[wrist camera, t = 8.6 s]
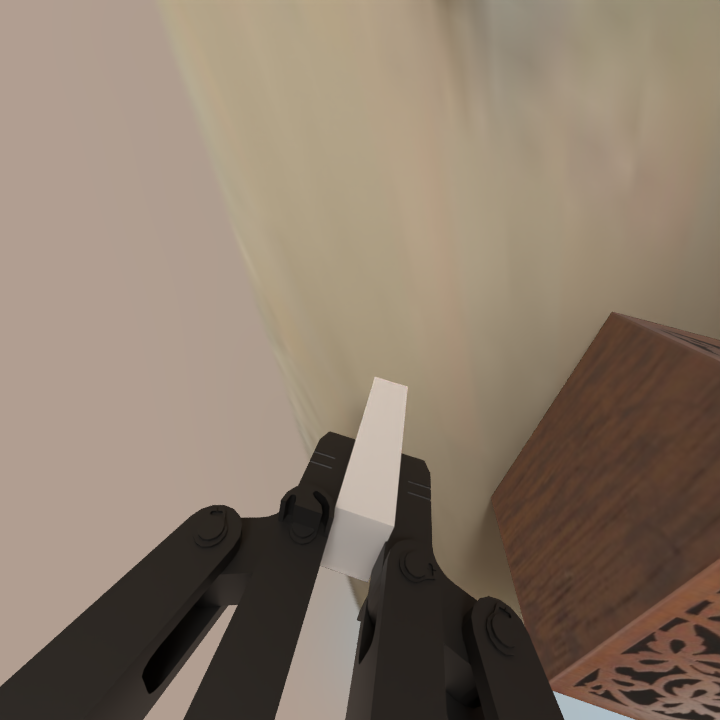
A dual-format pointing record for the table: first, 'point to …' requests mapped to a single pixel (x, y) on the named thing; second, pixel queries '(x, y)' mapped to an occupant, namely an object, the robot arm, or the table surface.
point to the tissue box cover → (624, 525)
